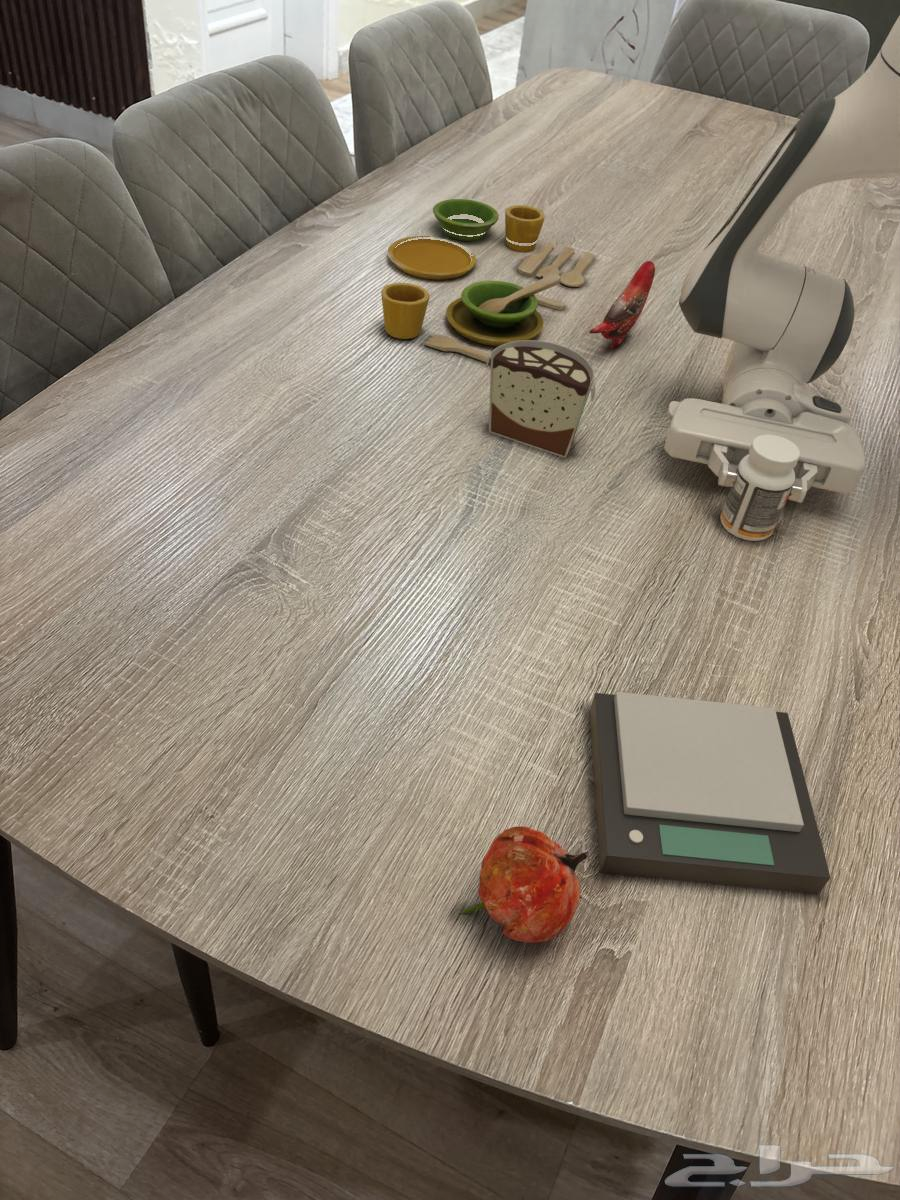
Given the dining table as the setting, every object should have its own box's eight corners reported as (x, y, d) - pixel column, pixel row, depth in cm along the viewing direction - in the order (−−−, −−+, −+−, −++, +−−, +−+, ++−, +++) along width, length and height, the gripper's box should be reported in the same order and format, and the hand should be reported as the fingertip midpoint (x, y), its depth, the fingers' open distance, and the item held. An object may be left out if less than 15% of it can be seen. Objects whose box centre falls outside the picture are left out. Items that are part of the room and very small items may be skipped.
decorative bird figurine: (648, 329, 128) (667, 259, 121) (589, 381, 117) (606, 306, 110) (629, 322, 129) (647, 252, 122) (569, 373, 118) (584, 298, 111)
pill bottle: (780, 523, 99) (814, 446, 92) (761, 551, 96) (795, 472, 89) (730, 501, 101) (759, 424, 94) (709, 527, 98) (739, 449, 91)
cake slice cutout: (595, 436, 108) (614, 358, 101) (578, 463, 104) (596, 384, 97) (497, 404, 111) (508, 326, 104) (476, 429, 107) (487, 350, 100)
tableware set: (511, 379, 115) (519, 332, 111) (311, 319, 121) (311, 272, 117) (604, 257, 143) (613, 215, 139) (438, 213, 150) (442, 172, 145)
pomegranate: (487, 985, 63) (621, 942, 60) (428, 931, 60) (568, 882, 56) (486, 890, 69) (608, 847, 66) (432, 836, 65) (559, 787, 62)
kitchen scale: (777, 731, 79) (792, 704, 76) (818, 895, 68) (836, 870, 66) (588, 711, 78) (597, 684, 76) (599, 873, 68) (609, 847, 65)
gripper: (676, 372, 103) (667, 440, 93) (865, 411, 101) (877, 485, 91) (662, 421, 107) (652, 491, 97) (843, 459, 105) (852, 534, 95)
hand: (762, 488), depth 94 cm, fingers closed on pill bottle, 5 cm apart
